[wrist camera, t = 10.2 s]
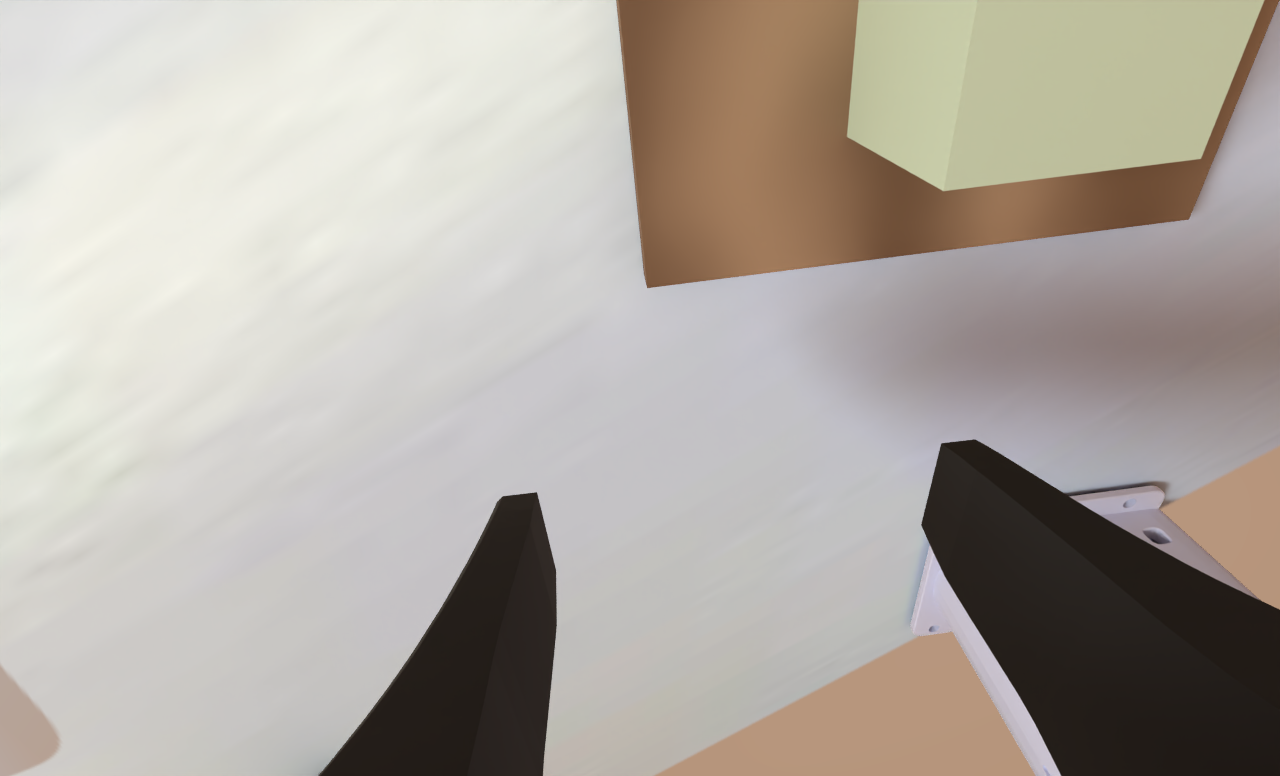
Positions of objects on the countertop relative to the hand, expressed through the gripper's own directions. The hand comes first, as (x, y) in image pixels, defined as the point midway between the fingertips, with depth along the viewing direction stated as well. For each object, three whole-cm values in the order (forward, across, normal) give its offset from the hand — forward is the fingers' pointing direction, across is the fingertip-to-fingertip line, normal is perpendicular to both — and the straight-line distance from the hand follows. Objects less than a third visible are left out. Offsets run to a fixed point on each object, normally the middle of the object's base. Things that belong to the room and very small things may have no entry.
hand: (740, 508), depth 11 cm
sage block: (+8, -7, -7) cm, 13 cm away
